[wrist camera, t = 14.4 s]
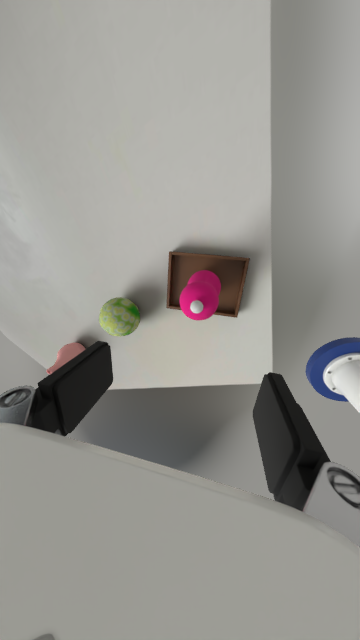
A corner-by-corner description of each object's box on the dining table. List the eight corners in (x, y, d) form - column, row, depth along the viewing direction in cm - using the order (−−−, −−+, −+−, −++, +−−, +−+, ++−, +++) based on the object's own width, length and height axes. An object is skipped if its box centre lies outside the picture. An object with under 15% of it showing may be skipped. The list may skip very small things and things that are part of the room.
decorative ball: (109, 315, 50) (85, 329, 41) (120, 287, 46) (97, 295, 37) (137, 333, 50) (120, 351, 41) (151, 306, 46) (136, 319, 37)
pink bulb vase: (66, 344, 57) (31, 366, 46) (80, 335, 55) (46, 355, 44) (81, 362, 59) (51, 387, 48) (95, 353, 56) (66, 377, 45)
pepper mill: (219, 266, 39) (222, 277, 20) (221, 297, 41) (226, 331, 23) (188, 271, 40) (164, 285, 22) (192, 300, 43) (174, 335, 24)
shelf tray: (247, 257, 38) (249, 258, 35) (235, 313, 43) (237, 317, 40) (172, 251, 40) (169, 251, 38) (169, 305, 45) (166, 308, 43)
